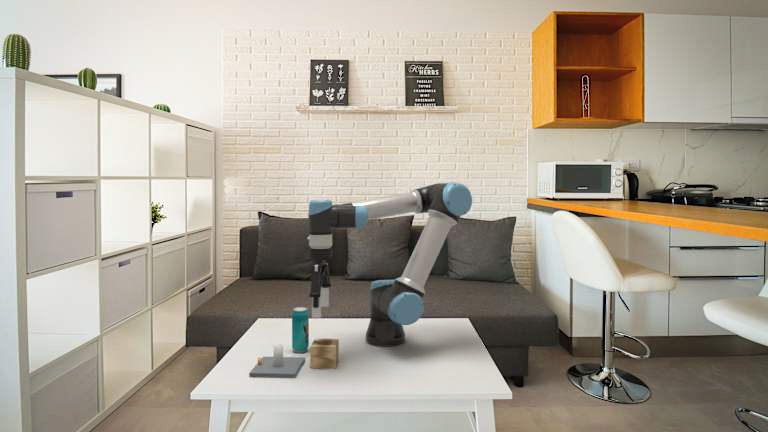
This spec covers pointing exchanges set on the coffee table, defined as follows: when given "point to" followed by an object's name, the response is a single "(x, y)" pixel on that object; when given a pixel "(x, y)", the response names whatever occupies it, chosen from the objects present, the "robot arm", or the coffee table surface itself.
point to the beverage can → (300, 329)
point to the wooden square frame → (324, 353)
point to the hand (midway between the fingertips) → (320, 311)
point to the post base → (278, 371)
